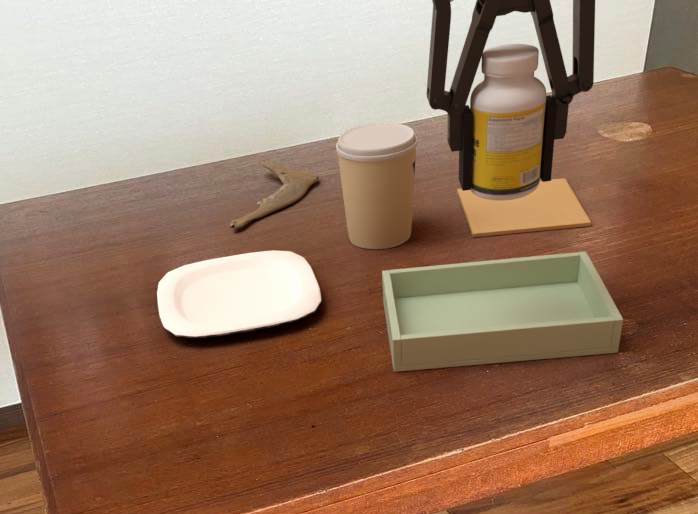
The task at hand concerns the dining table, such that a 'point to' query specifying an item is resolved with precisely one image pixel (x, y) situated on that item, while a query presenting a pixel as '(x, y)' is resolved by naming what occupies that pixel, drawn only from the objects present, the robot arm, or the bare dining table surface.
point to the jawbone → (280, 192)
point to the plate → (237, 294)
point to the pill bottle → (507, 124)
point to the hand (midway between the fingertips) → (504, 179)
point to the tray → (498, 312)
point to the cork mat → (525, 211)
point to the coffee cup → (378, 183)
